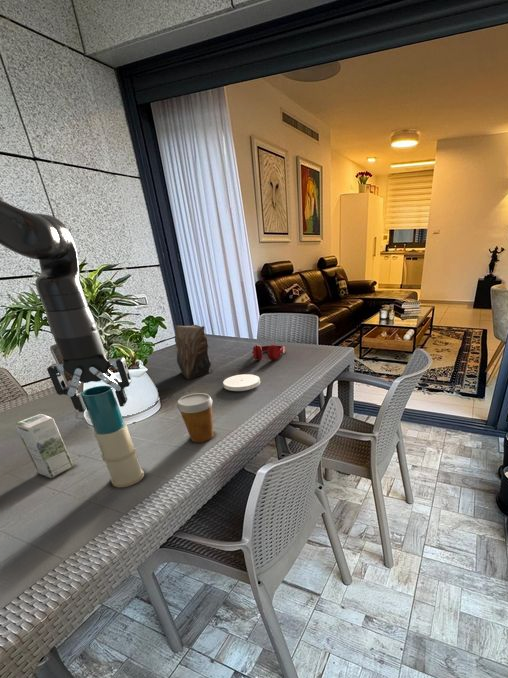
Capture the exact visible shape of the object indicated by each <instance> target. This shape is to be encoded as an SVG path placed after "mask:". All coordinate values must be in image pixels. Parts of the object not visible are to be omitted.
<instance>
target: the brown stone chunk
mask: <svg viewBox="0 0 508 678" xmlns="http://www.w3.org/2000/svg"><path fill="white" fill-rule="evenodd" d="M174 329H175V333H174V342H175V347H176V349H177V351H176V363H177V365H178V367H179V371H180V372H181V375H182V376H184V378H185V379H187V380H191V379H194V378H197V377H199V376H200V377H202V376H204V375H208V374H210V373H211V372H212V371H211V370H210V369H211V367H212V362H211V359H210V355H209V348H210V346H209V345H210V344H209V342H208V337H207V335H206V332H205V330H206V329H205V326H204V325H202V326H201V325H197V324H192V325H175V326H174Z"/></svg>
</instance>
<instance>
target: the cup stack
mask: <svg viewBox="0 0 508 678" xmlns="http://www.w3.org/2000/svg"><path fill="white" fill-rule="evenodd" d="M123 422H124V427H123V428H121V429H120V430H118V431H115V432H112V433H108V434H98V433H96V432H95V430H94V429H93V435H94V437H95V440H96V442H97V445H98V447H99V451H100V452H101V459H102V461H103V462H104V463H105V465H106V468H107V470H108V473H109V476H110V482H111V484H112V486H113V487H116V488H126V487H131V486H133V485H135V484H137V483H139V482H140V481H141V480H143V478H144V476H145V472H144V469H142V466H141V464H140V460H139V458H138V455H137V448H136V445H134V442H133V440H132V437H131V433H130V429H129V428H128V424H127V422H125V421H123Z"/></svg>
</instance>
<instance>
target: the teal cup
mask: <svg viewBox="0 0 508 678" xmlns="http://www.w3.org/2000/svg"><path fill="white" fill-rule="evenodd" d="M80 393H81V396H82V399H83V401H84V404H85V406H86V409H85V410H86V411H87V414H88V416H89V419H90V422H91V425H92V427H93V431H94V430H95V432H96V433H98V434H108V433H112V432H115V431H118V430H120V429H121V428H123V427H124V422H125V421H124V419H123V416H122V412H121V410H120V406H119V403H118V400H117V397H116V394H115V391H114V388H113V387H111V386H110V385H98V386H97V385H96V386H92V387H89V388H86V389H85V390H84V389H83V390H82V391H81V392H80Z"/></svg>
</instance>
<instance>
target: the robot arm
mask: <svg viewBox="0 0 508 678" xmlns="http://www.w3.org/2000/svg"><path fill="white" fill-rule="evenodd" d="M0 245H1V246H3V247H5V248H6V249H8V250H9V251H11V252H13V253H16V254H18V255H21V256H22V257H25V258H29V259H32V260H38V262H39V267H40V275H39V276H38V277H36V279H35V282H34V284H35V289H36V291H37V294H38V296H39V299H40V302H41V304H42V306H43V309H44V312H45V315H46V319H47V323H48V327H49V330H50V333H51V335H52V336H53V339H54V342H55V345H56V347H57V349H58V352H59V355H60V357H61V359H62V361H63V363H62V364H58V363H52V364H50V365H49V366H48V367H47V368H46V371H47V373H48V375H49V378H50V380H51V383H52V385H53V387H54V389H55V392H56V394H57V395H59V396H62V395H65V396H68V397H69V399H70V400H71V402H72V405H73V408H74V409H75V410H76V411H77V410H78V413H84V412H85V411H86V410H87V409H86V406H85V404H84V401H83V399H82V396H81V393H82V392H79V389H80V387H81V384H82V383H83V384H88V383H91V382H94V383H97V382H101V381H102V382H103V383H105V384H106V385H108V386H111V387H112V389H113V390H114V394H115V397H116V400H117V403H118V406H119V408H121V407H122V408H123V407H125V405H126V404H127V402H128V397H127V393H126V390H125V388H128V387H129V386H130V385H131V383H132V378H131V374H130V372H129V367H128V364H127V362H126V358H125V357H124V356H119V357H117V358H111V359H110V358H109V357H108V355H107V354H106V350H105V348H104V345H103V341H102V338H101V336H100V332H99V328H98V326H97V324H96V321H95V317H94V315H93V313H92V311H91V309H90V307H89V304H88V301H87V298H86V295H85V292H84V289H83V286H82V283H81V278H80V266H79V258H78V257H79V256H78V252H77V247H76V243H75V240H74V237H73V235H72V234H71V231H70V230H69V228H68V227H67V226H66V225H65V224H64V222H63V221H61V220H60V219H59V218H57V217H55V216H53V215H50V214H44V213H34V212H30V211H26V210H24V209H21V208H19V207H16V206H14V205H13V204H10V203H8V202H6V201H5V200H4V198H3V197H1V196H0ZM111 366H112V367H113V368H114V369H115V370H118V371H117V372H118V373H119V377H120V379H119V378H118V377H117V376H116V375H115V374H114V372H112V371H111V370H109V369H110V368H111ZM65 372H66V373H68V374H69V375H70V376H72V378H71V381H70V384H69V386H68V385H67V383H66V381H65V378H64V376H63V375H64V373H65Z"/></svg>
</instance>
